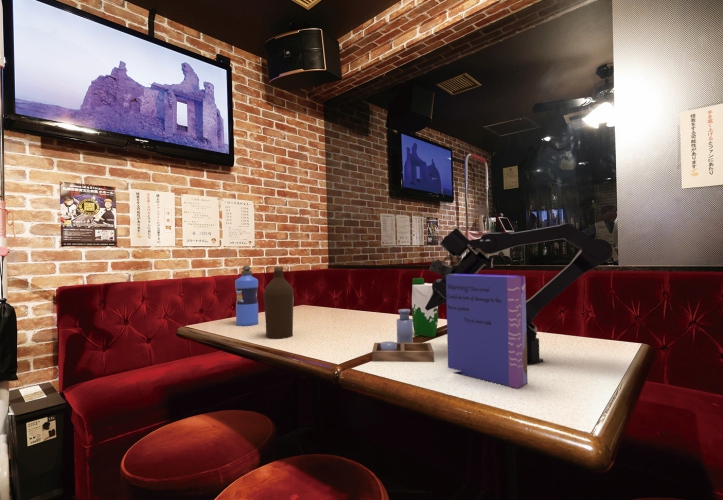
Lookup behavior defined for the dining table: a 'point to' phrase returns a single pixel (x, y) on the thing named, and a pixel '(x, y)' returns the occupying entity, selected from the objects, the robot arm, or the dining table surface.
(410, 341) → the flask
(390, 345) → the blue-grey round dome
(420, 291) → the milk carton
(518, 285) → the purple book
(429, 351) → the caddy
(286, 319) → the olive oil
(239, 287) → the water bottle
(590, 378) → the dining table surface
